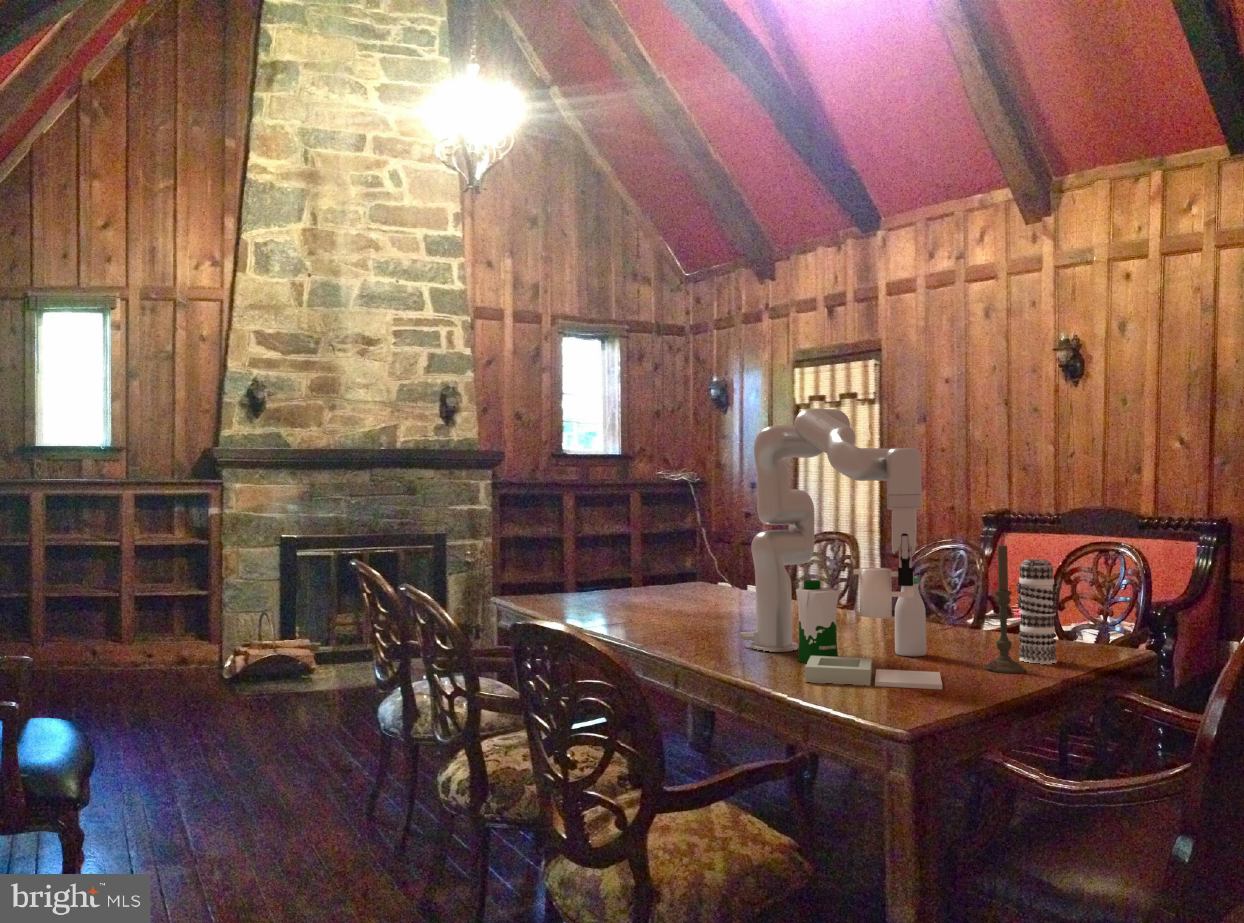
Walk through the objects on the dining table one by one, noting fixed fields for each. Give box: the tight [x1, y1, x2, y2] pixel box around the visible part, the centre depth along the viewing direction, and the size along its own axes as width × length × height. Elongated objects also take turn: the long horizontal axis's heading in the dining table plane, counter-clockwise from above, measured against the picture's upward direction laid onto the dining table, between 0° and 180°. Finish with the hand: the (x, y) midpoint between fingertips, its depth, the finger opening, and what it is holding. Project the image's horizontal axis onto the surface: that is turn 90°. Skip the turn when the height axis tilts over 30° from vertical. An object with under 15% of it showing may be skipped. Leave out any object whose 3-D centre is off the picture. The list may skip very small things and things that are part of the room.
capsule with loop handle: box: [853, 567, 915, 619], centre depth 215 cm, size 13×7×10 cm, turn 73°
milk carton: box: [795, 579, 840, 664], centre depth 236 cm, size 9×9×20 cm
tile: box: [874, 668, 943, 690], centre depth 213 cm, size 14×14×1 cm
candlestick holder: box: [983, 542, 1026, 674], centre depth 226 cm, size 9×9×30 cm
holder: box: [804, 656, 873, 687], centre depth 218 cm, size 14×14×4 cm
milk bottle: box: [894, 575, 927, 657], centre depth 246 cm, size 8×8×20 cm
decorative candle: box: [1015, 558, 1058, 665], centre depth 236 cm, size 9×9×25 cm
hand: (905, 584), depth 214 cm, fingers closed on capsule with loop handle
